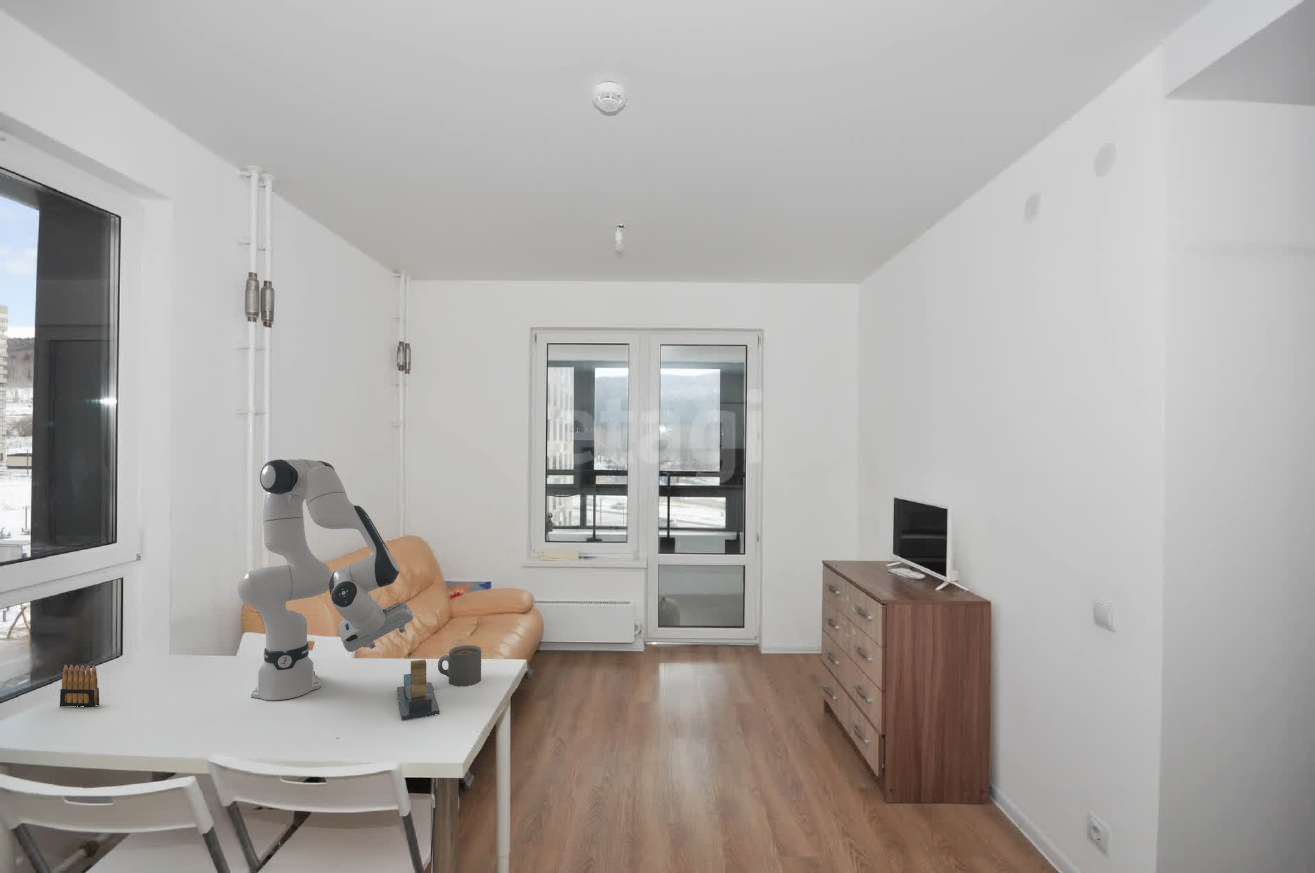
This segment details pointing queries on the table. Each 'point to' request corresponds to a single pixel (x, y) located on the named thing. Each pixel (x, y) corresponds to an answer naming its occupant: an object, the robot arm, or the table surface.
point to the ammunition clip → (79, 687)
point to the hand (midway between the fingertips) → (388, 638)
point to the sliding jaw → (408, 685)
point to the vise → (417, 704)
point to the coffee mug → (462, 665)
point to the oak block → (418, 678)
